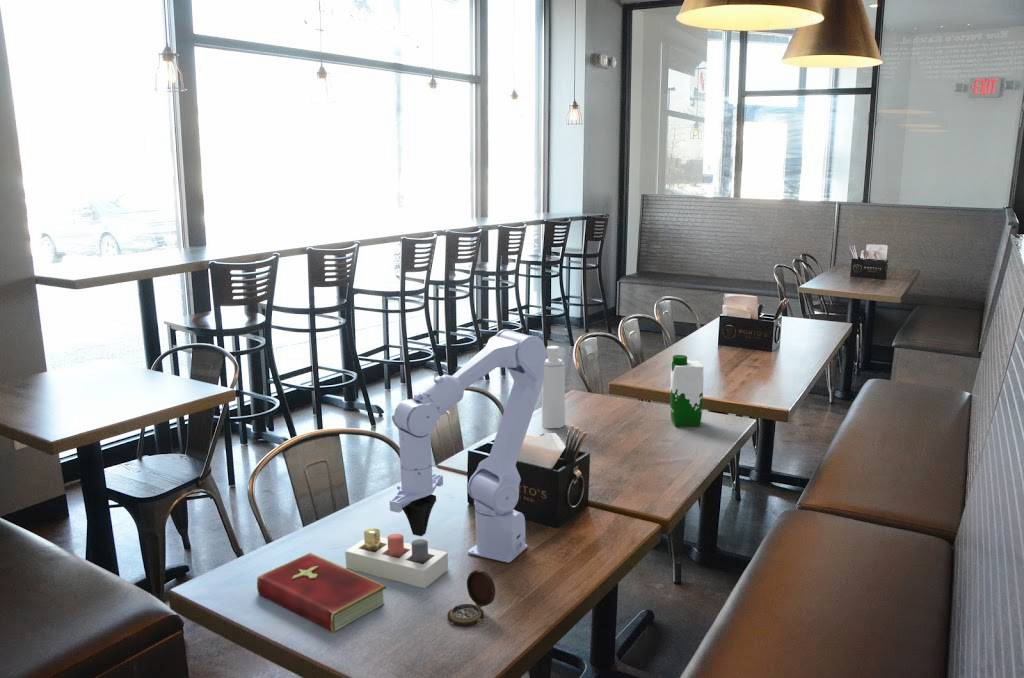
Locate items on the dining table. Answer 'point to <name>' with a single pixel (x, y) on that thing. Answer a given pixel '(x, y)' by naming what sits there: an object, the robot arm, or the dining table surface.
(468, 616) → the compass
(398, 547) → the red plug
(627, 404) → the dining table surface
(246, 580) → the dining table surface
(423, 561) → the gray plug
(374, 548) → the brass plug
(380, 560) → the socket board
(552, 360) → the white bottle
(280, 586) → the hardcover book
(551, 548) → the dining table surface
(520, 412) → the robot arm
